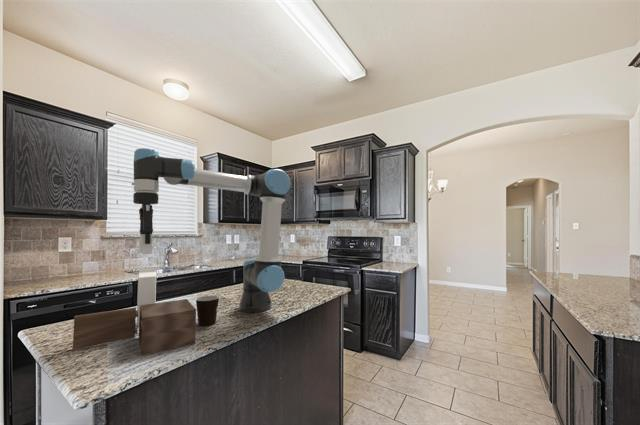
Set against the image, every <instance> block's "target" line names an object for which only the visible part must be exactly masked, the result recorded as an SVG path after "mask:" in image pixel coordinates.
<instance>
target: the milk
mask: <svg viewBox="0 0 640 425" xmlns="http://www.w3.org/2000/svg"><path fill="white" fill-rule="evenodd" d="M137 280H138V281H137V285H138V286H137V305H136V310H138V317H136V327H139V315H140V305H147V304H154V303H156V298H157V295H156V294H157V267H145V268H142V267H141V268H139V269H138V279H137Z"/></svg>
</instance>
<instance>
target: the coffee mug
mask: <svg viewBox="0 0 640 425" xmlns="http://www.w3.org/2000/svg"><path fill="white" fill-rule="evenodd" d="M219 300H220V296H219V295H204V296H200V297H196V298H195V304H196V316H197V323H198V326H200V327H209V326H212V325H215V324H216V322H217V315H218V308H219V302H220V301H219Z"/></svg>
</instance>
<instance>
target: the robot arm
mask: <svg viewBox="0 0 640 425" xmlns="http://www.w3.org/2000/svg"><path fill="white" fill-rule="evenodd" d="M133 154H134V155H133V182H131V186H133V192H134V193H133V196H132V197H133V200H132V202H133V204H135V205H141V207H140V208H139V209H138V212H139V213H138V214H139V220H140V224H139V233H140V234H139V253H142V255H152V254H153V231H154V228H153V227H154V226H153V213H154V209H153V205H157V204H159V194H158V193H159V190H160V188H159V187H160V186H159V185H160V184H159V178H163V179H164V181H165V182H166V183H167V184H169V185H170V186H171V185H173V186H174V185H175V186H177V185H184V186H192V187H202V188H209V189H217V190H223V191H225V190H226V191H231V192H232V191H233V192H241V193H244V194H245V195H246V196H247V195H249V196H253V197H254V196H255V197H259V200H260V201H261V202H262V205H261V206H262V208H261V219H260V220H261V223H260V236H259V250H258V256H257V257H256V258H255V259H248V260H245V261H243V268H242V269H243V271H242V272H243V273H242V274H243V277H242V279H243V281H242V282H243V283H242V285H243V287H242V289H243V290H242V295H241V298H240V301H239V305H238V309H239V311H240V312H244V313H261V312H265V311H269V310H270V309H271V308H272V300H271V296H270V293H274V292H276V291H277V290H279V289H280V288H281V287H282V286H283V284H284V282H285V278H286V277H285V272H284V270H283V268H282V259H281V258H280V257H279V252H280V251H279V250H280V237H281V224H282V223H281V221H282V206H283V204H284V202H286V195H287V193H288V191H289V190H290V188H291V178H290V176H289V175H288V174H287V172H286V171H284V170H283V169H281V168H280V169H279V168H274V169H269V170H267V171H266V172H264V173H261V174H256V175H254V174H253V175H252V174H247V175H246V176H245V175H238V174H233V173H232V174H231V173H226V172H220V171H213V170H207V169H200V168H195V167H196V165H195V164H196V163H195V162H194V160H190V159H185V158H183V159H182V158H173V157H164V156H160V153H159V151H157V150H156V149H151V148H146V147H145V148H144V147H143V148H137V149H135V150H134V153H133Z"/></svg>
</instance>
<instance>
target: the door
mask: <svg viewBox="0 0 640 425" xmlns="http://www.w3.org/2000/svg"><path fill="white" fill-rule="evenodd" d="M137 317H138V310H137V306H136V307H134V306H133V307H129V308H122V309H114V310H108V311H100V312H93V313H85V314H80V315H74V317H73V318H74V320H73V335H72V336H73V337H72V338H73V339H72V351H74V350H78V349H83V348H89V347H93V346H99V345H105V344H109V343H116V342H120V341H124V340H128V339H135V338H136V335H138V332H139V326H136V324H137Z"/></svg>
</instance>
